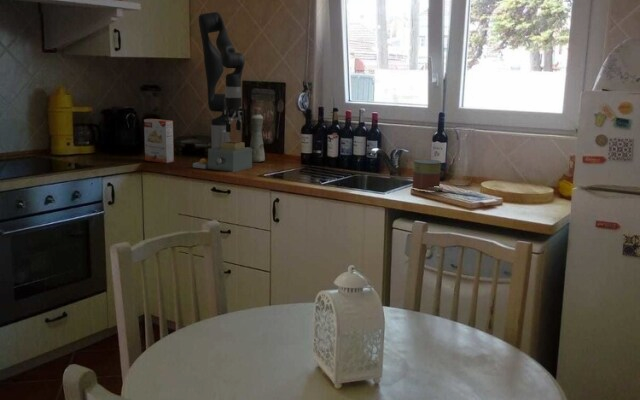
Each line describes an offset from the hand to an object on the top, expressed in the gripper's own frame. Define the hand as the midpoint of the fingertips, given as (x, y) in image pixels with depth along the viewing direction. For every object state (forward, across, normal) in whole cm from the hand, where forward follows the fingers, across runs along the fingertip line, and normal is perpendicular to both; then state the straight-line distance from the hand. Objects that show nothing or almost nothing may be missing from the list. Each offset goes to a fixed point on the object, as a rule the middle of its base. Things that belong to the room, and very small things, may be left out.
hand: (233, 131), depth 312 cm
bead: (+17, +7, -12) cm, 22 cm away
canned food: (+18, -1, +95) cm, 96 cm away
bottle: (+18, -26, -3) cm, 32 cm away
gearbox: (+18, +2, 0) cm, 18 cm away
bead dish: (+18, +7, -12) cm, 23 cm away
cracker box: (+18, +3, -42) cm, 46 cm away
